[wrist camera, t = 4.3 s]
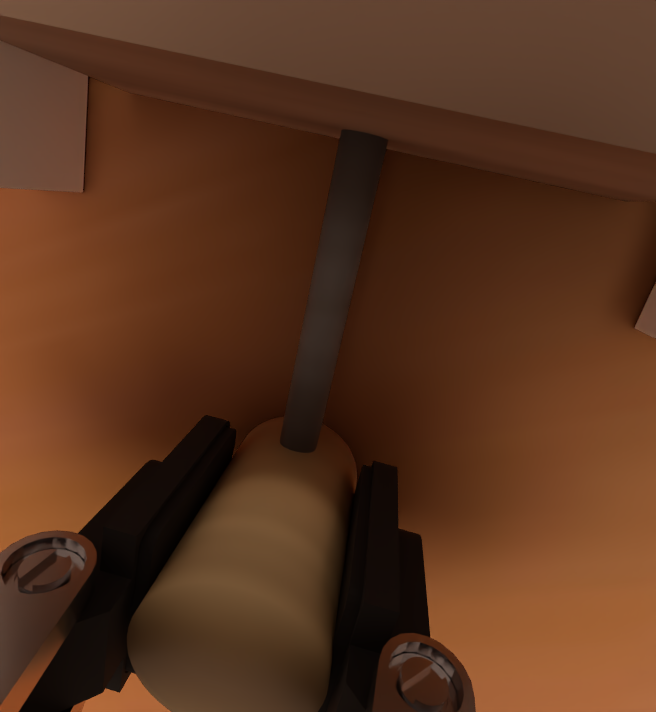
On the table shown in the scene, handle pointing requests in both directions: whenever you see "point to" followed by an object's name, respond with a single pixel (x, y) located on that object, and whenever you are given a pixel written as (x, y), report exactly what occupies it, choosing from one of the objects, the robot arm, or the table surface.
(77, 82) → the lane organiser
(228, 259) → the table surface
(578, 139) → the brown handled block
